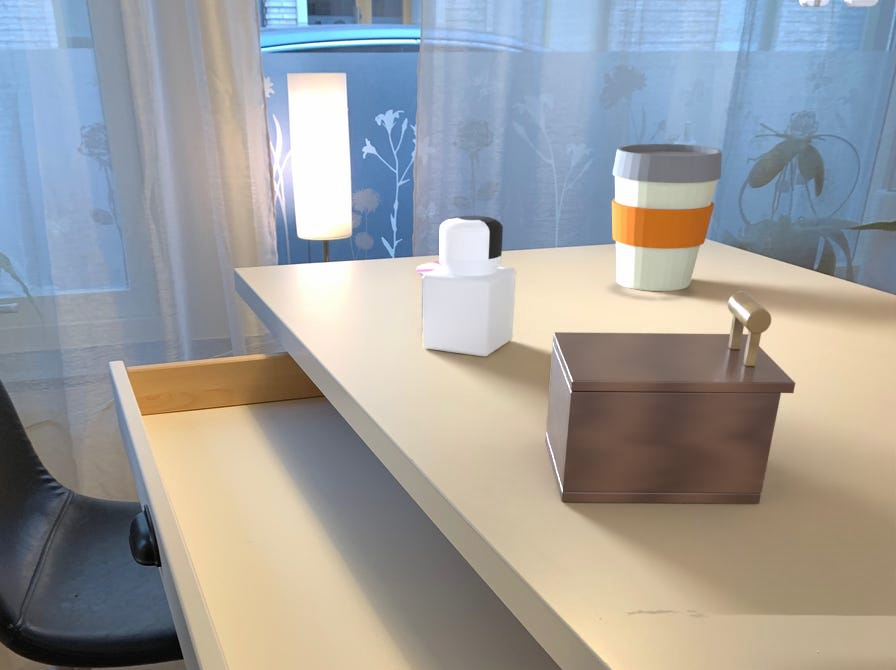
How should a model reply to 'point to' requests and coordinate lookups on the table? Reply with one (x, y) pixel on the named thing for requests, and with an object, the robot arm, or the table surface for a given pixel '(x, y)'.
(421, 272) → the cd
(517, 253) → the table surface
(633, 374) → the lid
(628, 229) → the reusable coffee cup
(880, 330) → the table surface
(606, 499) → the box
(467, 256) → the medicine bottle
